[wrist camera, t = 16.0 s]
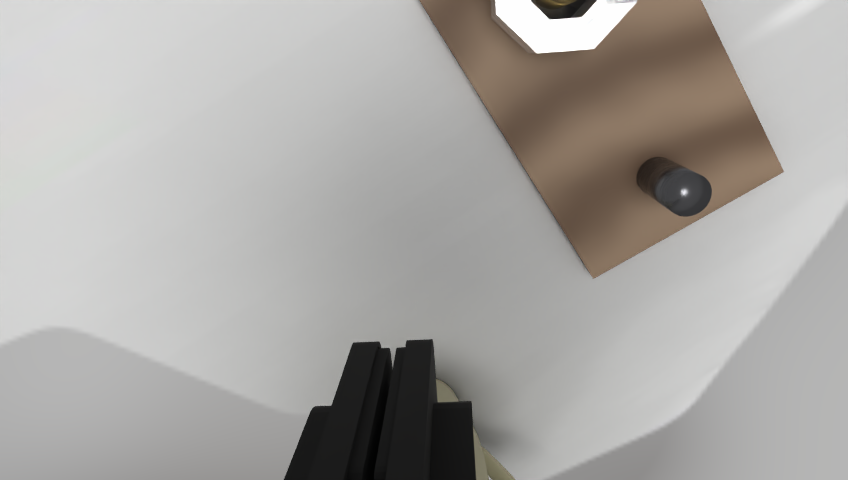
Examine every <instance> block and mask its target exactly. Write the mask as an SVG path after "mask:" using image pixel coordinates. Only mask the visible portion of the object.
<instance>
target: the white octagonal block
mask: <svg viewBox="0 0 848 480" xmlns="http://www.w3.org/2000/svg"><path fill="white" fill-rule="evenodd" d="M636 3H637V0H586V1H585V2H584V3H583V5H582V6H581V7H580V8H579V9H578V10H577V11H576V12H575V14H574V15H573V16H572V17H571V18H569V19H557V20H549V19H548V18H547V17H546V16H545V15H544V14H543V13H542V12H541V11H540V10H539V9H538V8H537V7H536V6H535V5H534V4H533V3H532V2H531V1H530V0H491V18H492V19H493V20H494V21H495V22H496V23H497V24H498V25H499V26H500V27H501V28H502V29H503V30H504V31H505V32H506V33H507V34H508V35H509V36H510V37H511V38H512V39H513V40H514V41H515V42H517V43H518V44H519V45H520V46H521V47H522V48H523V49H524V50H525V51H526V52H527V53H544V52H558V51H571V50H584V49H594V48H595V47H596V46H597V45H598V44H599V43H600V42H601V41H602V40H603V38H604V37H605V36H606V35H607V34H608V33H609V32H610V31H611V30H612V29H613V28H614V27H615V25H616V24H617V23H618V22H619V21H620V20H621V19H622V18H623V17H624V16H625V15H626V13H627V12H628V11H629V10H630V9H631V8H632V7H633V6H634V5H635V4H636Z"/></svg>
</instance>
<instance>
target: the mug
mask: <svg viewBox="0 0 848 480" xmlns="http://www.w3.org/2000/svg"><path fill="white" fill-rule="evenodd" d="M436 386H437V400H438V402H459V400H458V399H457V397H456V395H455V394H454V392H453V390H452V389H451V388H450V387H449V386H448V385H447V384H445V383H444V382H442V381H440V380H438V379H436ZM473 435H474V452H475V468H476V480H489V478H488V475H489V476H490V478H491V479H492V480H515V479H514V477H513V476H512V475H511V474H510V473H509V472H508V471H507V470H506V469H505V468H504V467H503V466H502V465H501V464H500V463H499V462H498V461H497V460H496V459H495V458H494V457H493V456H492V455H491V454H490V453H489V452H488V451H487V450H486V449H484V448H483V447H482V446H481V444H480V441H479V438H478V435H477V433H476V431H475V429H474V427H473Z"/></svg>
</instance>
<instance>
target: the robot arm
mask: <svg viewBox="0 0 848 480" xmlns="http://www.w3.org/2000/svg"><path fill="white" fill-rule="evenodd" d="M284 480H476V468H475V452H474V435H473V419H472V403H471V401H461V402H438V400H437V386H436V373H435V360H434V347H433V340H432V339H430V340H407V341H406V347H402V348H397V349H396V354H395V360H394V365H393V370H392V361H391V352H390V349H389V348H381V344H380V342H357V343H353V344H352V347H351V350H350V353H349V356H348V359H347V362H346V365H345V367H344V370H343V373H342V376H341V379H340V382H339V385H338V388H337V391H336V394H335V397H334V400H333V403H332V406H315V407H314V408H312V410H311V412H310V414H309V417H308V419H307V422H306V425H305V427H304V430H303V432H302V435H301V437H300V440H299V442H298V445H297V448H296V450H295V453H294V455H293V458H292V460H291V463H290V466H289V468H288V471H287V473H286V476H285V479H284Z"/></svg>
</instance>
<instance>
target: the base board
mask: <svg viewBox="0 0 848 480" xmlns="http://www.w3.org/2000/svg"><path fill="white" fill-rule="evenodd" d="M419 1H420V2H421V4H422V5H423V7H424V9H425V10H426V12H427V13H428V15H429V17H430V18H431V20H432V21H433V23H434V25H435V26H436V28H437V29H438V31H439V33H440V34H441V36H442V37H443V39H444V41H445V42H446V44H447V45H448V47H449V49H450V50H451V52H452V53H453V55H454V57H455V58H456V60H457V61H458V63H459V65H460V66H461V68H462V69H463V71H464V73H465V74H466V76H467V77H468V79H469V81H470V82H471V84H472V85H473V87H474V89H475V90H476V92H477V93H478V95H479V97H480V98H481V100H482V101H483V103H484V105H485V106H486V108H487V109H488V111H489V113H490V114H491V116H492V117H493V119H494V121H495V122H496V124H497V125H498V127H499V129H500V130H501V132H502V133H503V135H504V137H505V138H506V140H507V141H508V143H509V145H510V146H511V148H512V149H513V151H514V153H515V154H516V156H517V157H518V159H519V161H520V162H521V164H522V165H523V167H524V169H525V170H526V172H527V173H528V175H529V177H530V178H531V180H532V181H533V183H534V185H535V186H536V188H537V189H538V191H539V193H540V194H541V196H542V197H543V199H544V201H545V202H546V204H547V205H548V207H549V209H550V210H551V212H552V213H553V215H554V217H555V218H556V220H557V221H558V223H559V225H560V226H561V228H562V229H563V231H564V233H565V234H566V236H567V237H568V239H569V241H570V242H571V244H572V245H573V247H574V249H575V250H576V252H577V253H578V255H579V257H580V258H581V260H582V261H583V263H584V265H585V266H586V268H587V269H588V271H589V273H590V274H591V276H592V277H593V279H594V278H596V277H597V276H599V275H601V274H603V273H604V272H606V271H608V270H610V269H612V268H613V267H615V266H617V265H619V264H621V263H622V262H624V261H626V260H628V259H629V258H631V257H633V256H635V255H637V254H638V253H640V252H642V251H644V250H645V249H647V248H649V247H651V246H653V245H654V244H656V243H658V242H660V241H661V240H663V239H665V238H667V237H669V236H670V235H672V234H674V233H676V232H678V231H679V230H681V229H683V228H685V227H686V226H688V225H690V224H692V223H694V222H695V221H697V220H699V219H701V218H702V217H704V216H706V215H708V214H710V213H711V212H713V211H715V210H717V209H718V208H720V207H722V206H724V205H726V204H727V203H729V202H731V201H733V200H735V199H736V198H738V197H740V196H742V195H743V194H745V193H747V192H749V191H751V190H752V189H754V188H756V187H758V186H759V185H761V184H763V183H765V182H767V181H768V180H770V179H772V178H774V177H776V176H777V175H779V174H781V173H783V172H784V171H783V169H782V167H781V165H780V163H779V161H778V159H777V156H776V154H775V152H774V150H773V148H772V146H771V144H770V142H769V140H768V138H767V136H766V134H765V132H764V129H763V127H762V125H761V123H760V121H759V119H758V117H757V115H756V113H755V111H754V109H753V107H752V105H751V103H750V100H749V98H748V96H747V94H746V92H745V90H744V88H743V86H742V84H741V82H740V80H739V78H738V76H737V74H736V71H735V69H734V67H733V65H732V63H731V61H730V59H729V57H728V55H727V53H726V51H725V49H724V47H723V45H722V42H721V40H720V38H719V36H718V34H717V32H716V30H715V28H714V26H713V24H712V22H711V20H710V18H709V16H708V13H707V11H706V9H705V7H704V5H703V3H702V1H701V0H637V3H636V4H635V5H634V6H633V7H632V8H631V9H630V10H629V11H628V12H627V13H626V15H625V16H624V17H623V18H622V19H621V20H620V21H619V22H618V23H617V24H616V25H615V27H614V28H613V29H612V30H611V31H610V32H609V33H608V34H607V35H606V36H605V37H604V38H603V40H602V41H601V42H600V43H599V44H598V45H597V46H596V47H595V48H594V49H584V50H571V51H558V52H544V53H527V52H526V51H525V50H524V49H523V48H522V47H521V46H520V45H519V44H518V43H517V42H515V41H514V40H513V39H512V38H511V37H510V36H509V35H508V34H507V33H506V32H505V31H504V30H503V29H502V28H501V27H500V26H499V25H498V24H497V23H496V22H495V21H494V20H493V19H492V18H491V0H419ZM653 157H664V158H667V159H669V160H671V161H673V162H675V163H677V164H679V165H681V166H683V167H686V168H688V169H690V170H692V171H694V172H696V173H698V174H700V175H702V176H704V177H705V178H706V179H707V180H708V181H709V183H710V185H711V188H712V196H711V199H710V202H709V203H708V205H707V206H706V208H705V209H704V210H702V211H701V212H700V213H698V214H696V215H693V216H688V217H683V216H678V215H676V214H674V213H673V212H671V211H670V210H668V209H667V208H665V207H664V206H663V205H661V204H660V203H658V202H657V201H656V200H654V199H653V198H651V197H650V196H649V195H647V194H646V193H644V192H643V191H642V190H641V189H640V188H639V186H638V184H637V180H636V177H637V172H638V170H639V168H640V166H641V165H642V164H643V163H644V162H645V161H647V160H648V159H650V158H653Z"/></svg>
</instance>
